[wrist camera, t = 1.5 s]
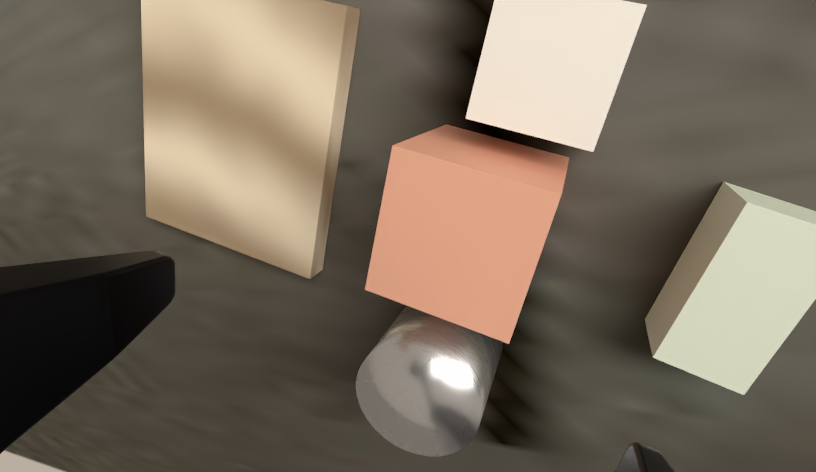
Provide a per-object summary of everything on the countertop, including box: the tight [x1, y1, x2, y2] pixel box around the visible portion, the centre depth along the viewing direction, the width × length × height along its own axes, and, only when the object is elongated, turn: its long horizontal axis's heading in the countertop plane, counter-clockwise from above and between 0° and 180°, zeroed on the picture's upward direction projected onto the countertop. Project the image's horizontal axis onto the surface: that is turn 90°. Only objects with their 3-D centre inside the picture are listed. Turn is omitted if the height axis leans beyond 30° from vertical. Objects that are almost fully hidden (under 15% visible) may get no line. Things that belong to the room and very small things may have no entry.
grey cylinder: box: [356, 305, 503, 456], centre depth 20 cm, size 5×5×5 cm
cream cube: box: [465, 0, 647, 152], centre depth 15 cm, size 4×4×4 cm
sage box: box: [645, 182, 816, 395], centre depth 16 cm, size 6×3×3 cm, turn 164°
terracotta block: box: [365, 124, 569, 344], centre depth 17 cm, size 5×5×6 cm
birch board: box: [141, 0, 361, 279], centre depth 22 cm, size 12×10×1 cm
